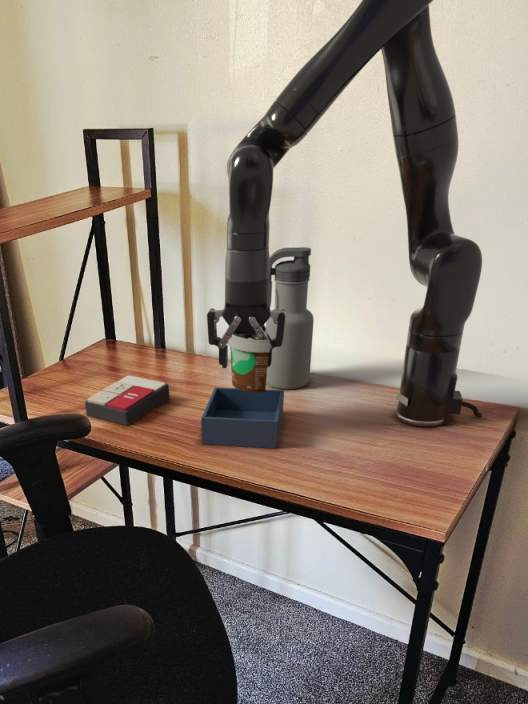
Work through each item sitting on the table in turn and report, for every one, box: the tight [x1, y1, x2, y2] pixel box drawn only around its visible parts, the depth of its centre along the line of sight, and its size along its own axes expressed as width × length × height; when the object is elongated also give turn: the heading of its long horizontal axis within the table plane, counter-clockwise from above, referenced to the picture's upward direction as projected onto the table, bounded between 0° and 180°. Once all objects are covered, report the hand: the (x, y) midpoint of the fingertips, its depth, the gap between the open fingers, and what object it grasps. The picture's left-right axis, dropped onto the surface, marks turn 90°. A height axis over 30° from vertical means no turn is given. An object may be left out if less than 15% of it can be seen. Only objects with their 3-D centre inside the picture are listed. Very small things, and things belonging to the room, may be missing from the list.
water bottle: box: [265, 246, 315, 390], centre depth 148 cm, size 10×10×28 cm
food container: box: [227, 332, 270, 393], centre depth 129 cm, size 12×6×10 cm, turn 6°
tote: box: [200, 386, 285, 449], centre depth 135 cm, size 14×15×5 cm
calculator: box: [84, 374, 170, 426], centre depth 147 cm, size 11×4×15 cm
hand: (245, 367), depth 130 cm, fingers closed on food container, 7 cm apart
